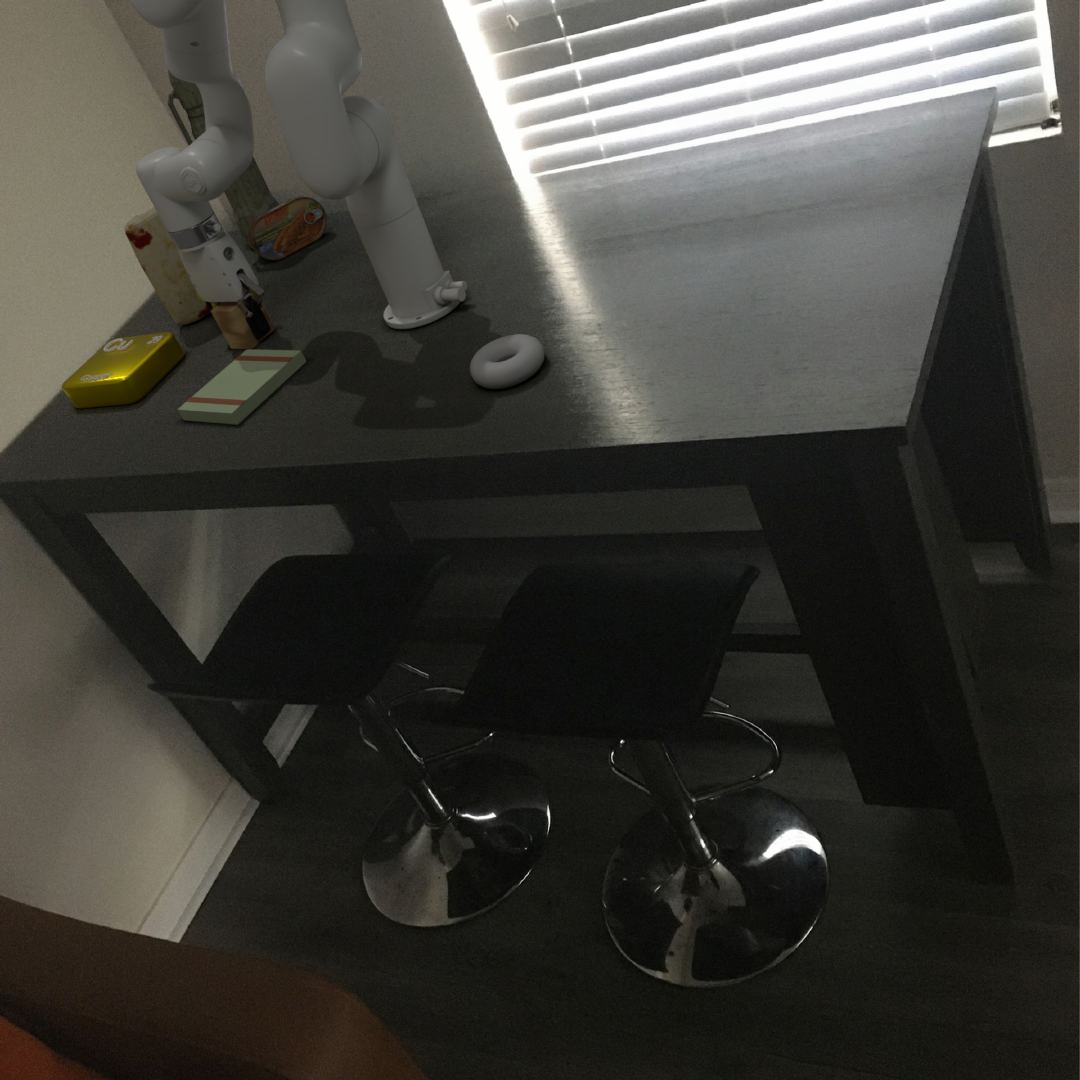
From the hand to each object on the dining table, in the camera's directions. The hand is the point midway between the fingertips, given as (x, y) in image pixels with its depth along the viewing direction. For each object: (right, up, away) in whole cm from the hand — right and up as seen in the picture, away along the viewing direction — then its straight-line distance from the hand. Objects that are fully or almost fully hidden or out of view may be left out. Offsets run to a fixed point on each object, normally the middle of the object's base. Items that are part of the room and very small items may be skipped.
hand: (250, 333), depth 174 cm
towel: (+3, -11, -14) cm, 18 cm away
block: (0, -1, +1) cm, 1 cm away
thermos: (-6, +26, +38) cm, 46 cm away
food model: (-13, +6, +16) cm, 21 cm away
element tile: (-20, -7, +3) cm, 22 cm away
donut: (+43, -12, -34) cm, 56 cm away
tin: (+1, +21, +28) cm, 35 cm away
